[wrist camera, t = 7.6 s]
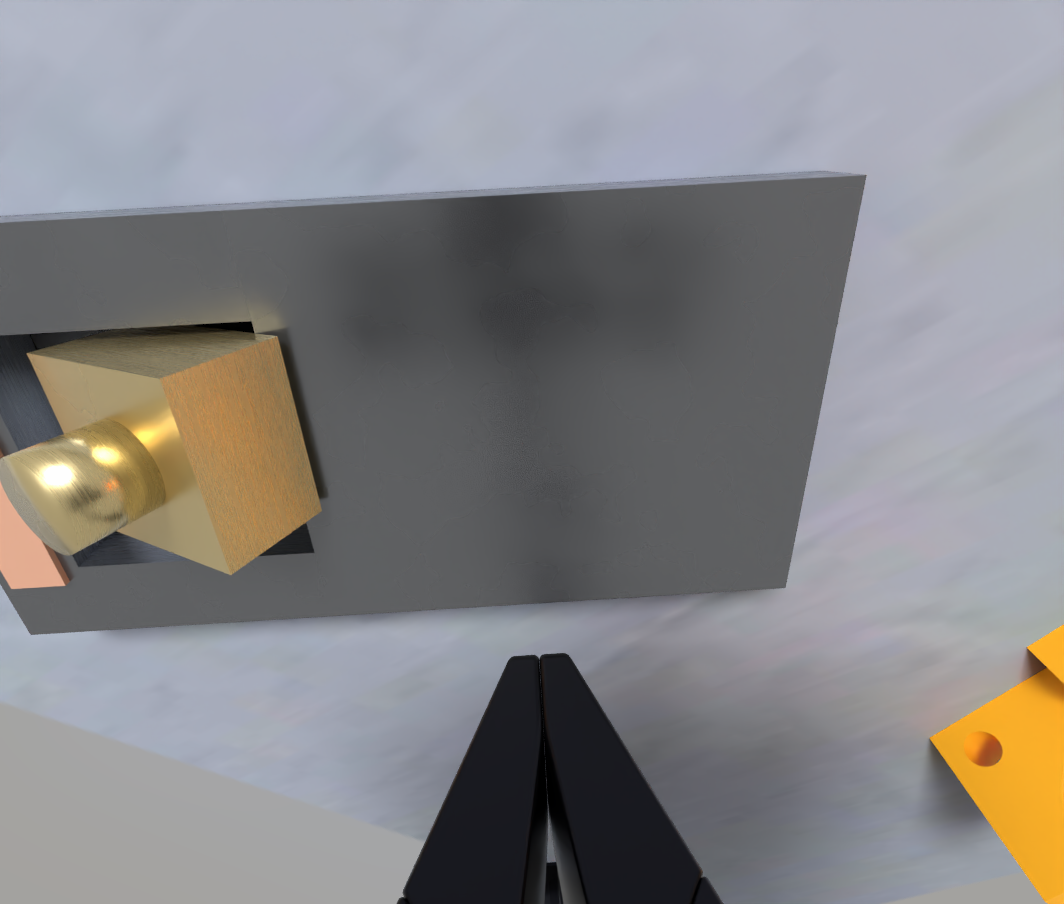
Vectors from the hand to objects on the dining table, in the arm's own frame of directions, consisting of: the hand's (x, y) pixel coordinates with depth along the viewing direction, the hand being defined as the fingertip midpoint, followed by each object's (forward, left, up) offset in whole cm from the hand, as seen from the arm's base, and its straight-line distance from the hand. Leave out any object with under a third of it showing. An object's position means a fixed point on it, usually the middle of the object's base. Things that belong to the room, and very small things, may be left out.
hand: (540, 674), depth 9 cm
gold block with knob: (0, +8, -9) cm, 12 cm away
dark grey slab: (0, +4, -10) cm, 11 cm away
